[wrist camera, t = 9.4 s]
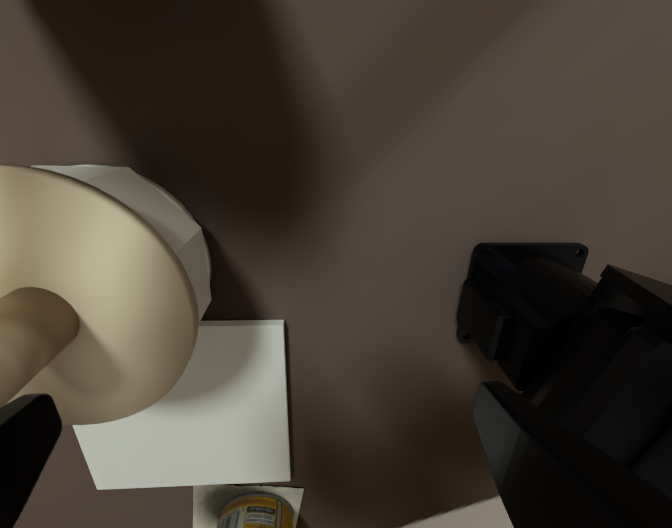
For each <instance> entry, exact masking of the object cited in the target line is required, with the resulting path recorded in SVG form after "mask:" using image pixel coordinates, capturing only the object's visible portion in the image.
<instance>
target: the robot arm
mask: <svg viewBox="0 0 672 528" xmlns="http://www.w3.org/2000/svg"><path fill="white" fill-rule="evenodd" d="M485 249H486V252H485V254H483V255H480V253H481V251H483V250H485ZM578 250H579V252H578V253H577V254H576V255H575V253H576V252H577V251H578ZM588 251H589V250H588V248H587V247H586V246H585V245H583V244H581V243H480V244H478V245H476V247H475V248H474V250H473V254H472V259H471V264H470V269H469V274H468V278H467V279H466V280H465V281H464V285H463V290H462V295H461V300H460V306H459V311H458V319H459V325H458V330H457V336H458V338H459V340H460V341H461V342H463V343H476V344H477V346H478V347H479V349H480V350H481V351H482V353H483V354H484V356H485V357H486V358H487V359H488V360H489V361H490V362H497V364H498V365H499V366H500V368H501V369H502V371H503V372H504V373H505V375H506V376H507V377H508V379H509V380H510V381H511V383H512V384H513V386H514V387H515V388H516V389H517V390H519V391H523V393H522V394H521V395H520V394H518V393H517V392H515V391H514V390H512V389H511V388H509V387H508V386H506V385H505V384H503V383H502V382H498V381H491V382H482V383H481V384H480V385H479V388H478V392H477V396H476V400H475V405H474V409H473V416H474V421H475V424H476V427H477V430H478V433H479V436H480V439H481V442H482V445H483V448H484V451H485V454H486V457H487V460H488V463H489V466H490V469H491V472H492V475H493V478H494V481H495V484H496V486H497V489H498V492H499V494H500V497H501V499H502V502H503V504H504V506H505V509H506V511H507V513H508V515H509V518H510V520H511V522H512V524H513V527H514V528H672V285H669V284H666V283H663V282H660V281H657V280H654V279H651V278H648V277H645V276H642V275H639V274H636V273H633V272H630V271H627V270H624V269H621V268H618V267H615V266H612V265H609V264H608V265H607V266H606V267H605V269H604V270H603V272H602V273H601V275H600V276H601V277H602V278H601V280H600V281H599V283H596V282H595V281H593V280H591V279H590V278H588V277H586V276H585V275H583V274H581V273H582V270H583V267H584V264H585V261H586V258H587V255H588ZM466 333H468V335H466V336H464V335H465V334H466ZM62 426H63V425H62V420H61V417H60V415H59V412H58V410H57V407H56V405H55V402H54V400H53V398H52V396H51V395H49V394H46V393H34V394H25V395H22V396H20V397H18V398H16V399H15V400H13V401H11V402H9V403H7V404H5V405H3V406H2V407H0V528H13V526H14V525H15V523H16V521H17V520H18V518H19V516H20V514H21V512H22V510H23V509H24V507H25V505H26V503H27V501H28V499H29V497H30V495H31V493H32V491H33V489H34V487H35V485H36V483H37V481H38V479H39V477H40V475H41V473H42V471H43V469H44V467H45V465H46V463H47V461H48V459H49V457H50V455H51V453H52V451H53V449H54V447H55V445H56V443H57V441H58V439H59V437H60V435H61V432H62Z"/></svg>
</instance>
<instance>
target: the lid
mask: <svg viewBox="0 0 672 528" xmlns="http://www.w3.org/2000/svg"><path fill="white" fill-rule="evenodd" d="M198 327H199V316H198V305H197V301H196V297H195V293H194V289H193V287H192V284H191V282H190V279H189V276H188V274H187V272H186V270H185V269H184V267H183V265H182V263H181V261H180V260H179V258H178V256H177V255H176V254H175V252H174V251H173V250H172V248H171V247H170V245H169V244H168V243H167V242H166V240H165V239H164V238H163V237H162V236H161V235H160V234H159V233H158V232H157V231H156V230H155V228H154V227H153V226H152V225H150V224H149V223H148V222H147V221H146V220H145V219H144V218H142V217H141V216H140V215H139V214H138V213H137V212H135V211H134V210H132V209H131V208H130V207H128V206H127V205H125V204H124V203H123V202H121V201H120V200H118V199H117V198H115V197H113V196H111V195H110V194H108V193H106V192H104V191H102V190H101V189H99V188H97V187H95V186H93V185H90V184H88V183H86V182H83V181H81V180H79V179H76V178H74V177H70V176H67V175H64V174H61V173H58V172H54V171H51V170H46V169H41V168H36V167H30V166H21V165H8V164H0V407H2V406H3V405H5V404H7V403H9V402H11V401H13V400H15V399H16V398H18V397H20V396H22V395H25V394H34V393H46V394H49V395H51V396H52V398H53V400H54V402H55V405H56V407H57V410H58V412H59V415H60V417H61V420H62V425H90V424H100V423H105V422H111V421H116V420H119V419H122V418H126V417H129V416H131V415H134V414H136V413H138V412H141V411H143V410H145V409H146V408H148V407H150V406H152V405H153V404H155V403H156V402H158V401H159V400H160V399H161V398H163V397H164V396H165V395H166V394H167V393H168V392H169V391H170V390H171V389H172V388H173V387H174V386H175V385H176V383H177V382H178V380H179V379H180V377H181V376H182V374H183V372H184V370H185V368H186V366H187V364H188V362H189V360H190V358H191V356H192V353H193V351H194V349H195V345H196V341H197V337H198Z"/></svg>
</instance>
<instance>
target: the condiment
mask: <svg viewBox="0 0 672 528" xmlns="http://www.w3.org/2000/svg"><path fill="white" fill-rule="evenodd" d="M193 491H194V492H193V506H194V507H193V515H194V516H193V528H296V524H297V519H298V514H299V510H300V505H301V501H302V496H303V492H304V489H300V488H288V487H273V486H258V485H256V486H248V485H247V486H234V485H221V484H219V485H217V484H216V485H193ZM233 493H236V494H233ZM216 521H218V523H216Z"/></svg>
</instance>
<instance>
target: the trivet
mask: <svg viewBox="0 0 672 528" xmlns="http://www.w3.org/2000/svg"><path fill="white" fill-rule="evenodd" d="M73 428H74V431H75V433H76V436H77V438H78V441H79V444H80V446H81V449H82V451H83V454H84V456H85V459H86V462H87V464H88V467H89V469H90V472H91V475H92V477H93V480H94V482H95V485H96V487H97V490H102V489H124V488H147V487H170V486H192V485H215V484H237V483H260V482H282V481H290V450H289V427H288V404H287V380H286V357H285V333H284V320H231V321H200V322H199V327H198V337H197V341H196V345H195V349H194V351H193V353H192V356H191V358H190V360H189V362H188V364H187V366H186V368H185V370H184V372H183V374H182V376H181V377H180V379H179V380H178V382H177V383H176V385H175V386H174V387H173V388H172V389H171V390H170V391H169V392H168V393H167V394H166V395H165V396H164V397H163V398H161V399H160V400H159V401H158V402H156V403H155V404H153V405H152V406H150V407H148V408H146V409H145V410H143V411H141V412H138V413H136V414H134V415H131V416H129V417H126V418H122V419H119V420H116V421H111V422H105V423H100V424H90V425H73Z"/></svg>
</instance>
